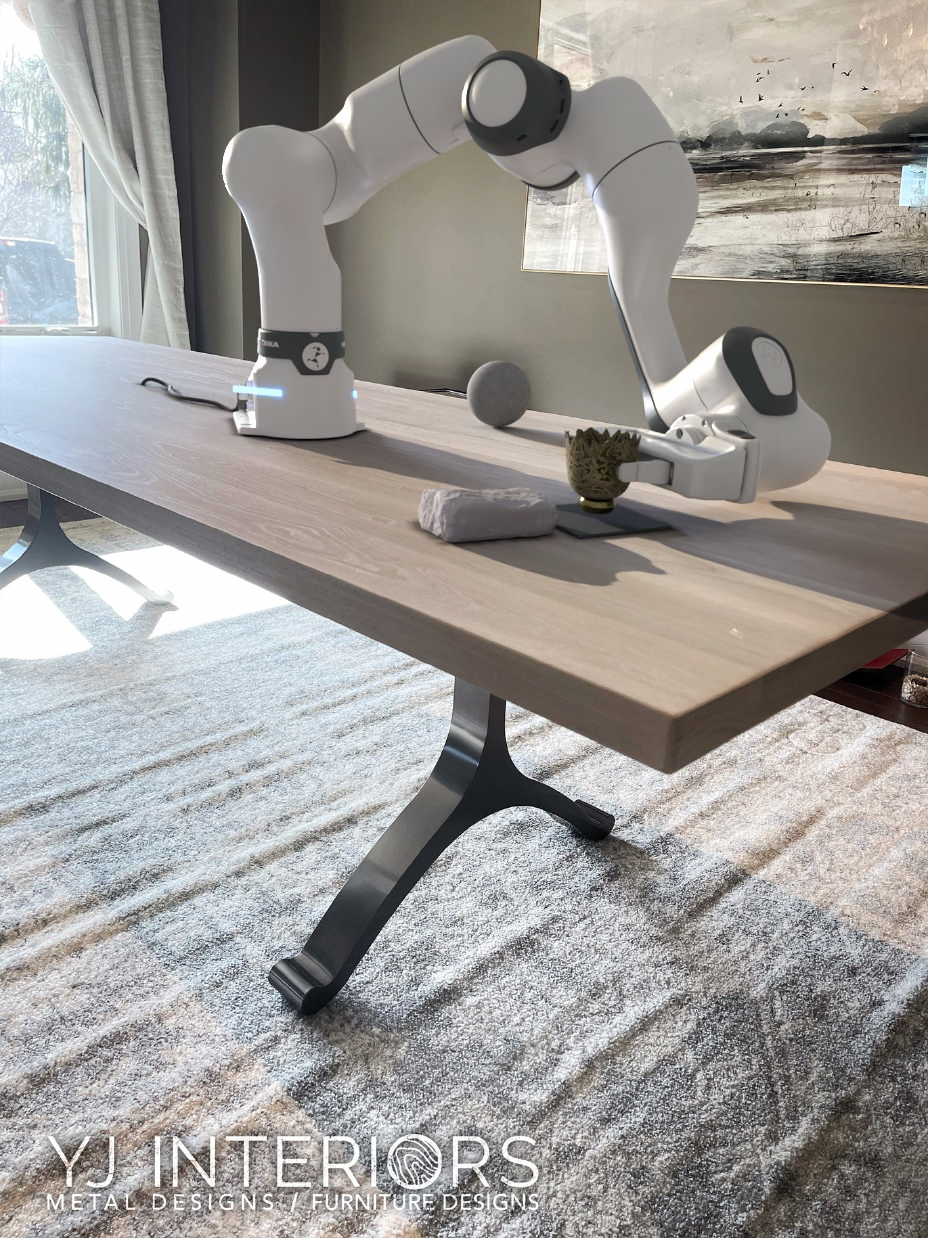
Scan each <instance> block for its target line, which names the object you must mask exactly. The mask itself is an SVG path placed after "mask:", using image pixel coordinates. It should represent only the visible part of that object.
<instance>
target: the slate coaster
mask: <svg viewBox="0 0 928 1238" xmlns="http://www.w3.org/2000/svg"><path fill="white" fill-rule="evenodd" d="M615 504H616V505H615V508H614V510H613V511H612V512H611V513H608V514H603V515H597V514H589V513H586V512H584V511H582V510H581V509H580V506H579V502H578V503H577V502H576V503H565V504H554V505H555V506H556V509H557V512H558V522H557V525H556V527H555V528H556V529H559V530H561V531H562V532H565V533H567V534H570V535H571V536H573V537H576V538H578V539H587V538H597V537H606V536H607V537H608V536H616V535H625V534H634V533H643V532H653V531H661V530H663V531H664V530H672V529H673V525H671V524H668V523H666V522H664V521H661V520H659V519H656V518H653V517H651V516H649V515H645V514H643V513H640V512H638V511H636V510H632V509H630V508H628V507H625V506H623V505H620V504H618V503H615Z"/></svg>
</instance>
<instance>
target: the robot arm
mask: <svg viewBox="0 0 928 1238" xmlns="http://www.w3.org/2000/svg"><path fill="white" fill-rule="evenodd" d="M471 140H473V141H474V143H476V145H477V147H479V148H480V149H481V150H482V151H483V152H485V153H486V154H487V155H488V156H489V158H490V159H492V161H493V162H494V163H496V164H497V165H498V167H500V168H501V169H502V170H503V171H504V172H507V173H509V174H511V175H513V176H514V177H515V178H517V179H519V180H520V181H521V182H522V183H524V185H526V186H528V187H530V188H531V189H535V190H538V191H543V192H558V191H562V190H565V189H566V188H569V187H570V186H572V185H574V184H575V183H576V182H578V180H579V179H580V178H581V180H582V182H583V184H584V186H585V188H586V190H587V192H588V194H589V197H590V199H591V200H592V202H593V205H594V207H595V210H596V211H597V214H598V217H599V220H600V223H601V227H602V230H603V231H602V232H603V235H604V239H605V245H606V250H607V251H606V252H607V263H608V264H607V281H608V287H609V292H610V296H611V299H612V303H613V306H614V308H615V312H616V316H617V318H618V321H619V324H620V327H621V330H622V334H623V336H624V339H625V342H626V345H627V348H628V351H629V354H630V357H631V360H632V362H633V366H634V369H635V372H636V374H637V375H636V376H638V377H637V378H638V381H639V384H640V387H641V393H642V398H643V405H644V413H645V418H646V423H647V426H648V429H647V428H643V427H636V426H634V427H633V426H591V427H592V428H593V429H595V430H597V431H599V433H601V434H603V432H604V431H605V429H606V428H607V429H608V432H609V433H610V437H612V436H613V434H615V433H616V432H617V431H618V430H619V429H620V430H621V433H625V432H626V431H628V432H629V434H630V438H632V435H633V434H634V433H636V434H637V438H638V436H639V435H641V440H640V444H639V449H638V454H637V459H636V462H633V461H618V462H616V463H615V464H614V472H613V477H614V478H615V479H616V480H619V481H622V482H630V483H643V484H649V485H652V486H655V487H658V488H661V489H663V490H667V491H670V492H673V493H676V494H678V495H679V496H681V497H682V498H685V499H689V500H699V501H700V500H701V501H725V502H729V503H732V504H733V503H734V504H739V505H747V504H753V503H754V502H755V500H756V496H757V494H758V493H767V492H773V491H774V492H775V491H780V490H786V489H790V488H793V487H797V486H800V485H803V484H805V483H807V482H809V481H810V480H812V479H813V478H814V477H815V476H817V475H818V474H819V473H820V472H821V470H822V469H823V467H824V466H825V465H826V462H827V460H828V458H829V455H830V452H831V447H832V435H831V431H830V428H829V425H828V423H827V422H826V420H825V419H824V418H823V417H822V416H821V415H820V414H819V413H818V412H816V411H815V410H813V409H812V408H811V407H810V406H809V405H808V404H807V403H806V402H805V401H804V399H803V397H802V396H801V394H800V393H799V391H798V388H797V387H798V386H797V382H796V381H797V380H796V373H795V367H794V363H793V360H792V358H791V356H790V352H789V351H788V349H787V347H786V346H785V345H784V344H783V343H782V342H781V341H780V340H779V339H777V338H776V337H775V336H773V334H771V333H769V332H767V331H765V330H763V329H761V328H757V327H755V326H748V325H738V326H733V327H731V328H730V329H729V330H727V332H724V334H722V335H721V336H720V337H718V338H717V339H716V340H714V341H713V342H712V343H711V344H709V345H708V346H707V347H706V348H704V350H702V351H701V352H700V353H699V354H698V355H697V356H696V357H695V358H693V360H691V361H690V362H689V363H688V362H687V359H686V357H685V356H686V355H685V354H684V350H683V347H682V344H681V341H680V337H679V335H678V332H677V330H676V327H675V324H674V321H673V318H672V314H671V312H670V306H669V292H670V291H669V289H670V284H671V280H672V277H673V273H674V271H675V268H676V266H677V263H678V260H679V257H680V255H681V253H682V251H683V249H684V247H685V245H686V243H687V241H688V240H689V237H690V236H691V233H692V231H693V228H694V226H695V223H696V220H697V216H698V213H699V205H700V192H699V187H698V183H697V178H696V175H695V172H694V169H693V167H692V165H691V163H690V161H689V159H688V157H687V155H686V153H685V151H684V150H683V147H682V145H681V144H680V141H679V139H678V138H677V136H676V134H675V131H674V130H673V129H672V127H671V126H670V124H669V122H668V120H667V119H666V117H665V116H664V114H663V113H662V111H661V110H660V109H659V107H658V106H657V104H656V103H655V102H654V100H653V99H652V98H651V96H650V95H649V94H648V93H647V92H646V90H645V89H644V88H643V86H641V84H640V83H638V82H637V81H636V80H634V79H632V78H630V77H627V76H623V75H621V76H620V75H618V76H611V77H606V78H604V79H601V80H599V81H596V82H595V83H594V84H592V85H591V86H589V87H587V88H586V89H583V90H576V89H573V88H572V86H571V82H570V79H569V77H568V76H567V75H566V74H564V73H563V72H560V71H559V70H557V69H555V68H553V67H551V66H549V65H548V64H546V63H545V62H543V61H541V60H538V59H537V58H535V57H534V56H531V55H528V54H526V53H523V52H520V51H516V50H509V49H507V50H506V49H505V50H499V51H498V50H497V48H496V47H494V45H493V44H492V43H491V42H490V41H489V40H487V39H486V38H484V37H482V36H480V35H476V34H467V35H463V36H460V37H457V38H454V39H451V40H447V41H445V42H443V43H440V44H437V45H434V46H432V47H430V48H427V49H425V50H423V51H422V52H420V53H418V54H415V55H413V56H411V57H410V58H408V59H405V60H404V61H402V62H401V63H399V64H398V65H396V66H394V67H393V68H390V70H388V71H386V72H384V73H383V74H380V75H379V76H377V77H375V78H373V80H370V81H369V82H367V83H365V84H363V85H362V86H361V87H359V88H357V89H355V90H354V91H352V92H351V93H350V94H349V95H348V96H347V98H346V99H345V102H344V106H343V108H342V109H341V110H339V112H338V113H337V114H336V115H335V116H334V117H333V118H332V119H330V121H328V122H327V123H326V124H325V125H323V126H322V127H320V128H317V129H314V130H310V131H300V130H296V129H293V128H289V127H285V126H282V125H278V124H268V125H267V124H266V125H258V126H253V127H249V128H246V129H243V130H241V131H239V132H238V133H237V134H235V135H234V136H233V137H232V139H231V140H230V141H229V143H228V145H227V146H226V149H225V152H224V155H223V160H222V175H223V176H222V177H223V181H224V183H225V187H226V189H227V191H228V193H229V195H230V196H231V198H232V200H233V201H234V202H235V203H236V204H237V206H238V207H239V209H240V210H241V213H242V215H243V217H244V220H245V223H246V226H247V229H248V232H249V236H250V239H251V242H252V243H251V244H252V247H253V251H254V254H255V259H256V264H257V270H258V278H259V279H258V280H259V296H260V298H259V299H260V319H261V322H260V323H261V328H259V329H258V336H257V351H256V352H257V354H258V359H257V361H256V363H255V365H254V367H253V369H252V371H251V373H250V375H249V377H248V379H245V380H244V383H238V384H237V385H232V392H233V393H236V399H237V401H236V405H235V406H234V407H228V406H227V405H224V404H223V403H221V402H218V401H216V400H213V399H207V398H200V397H193V396H187V395H183V394H180V393H177V392H175V391H174V390H173V389H174V387H173V385H172V384H170V383H168V382H166V381H164V380H161V379H159V378H156V377H153V376H148V377H145V378H143V380H142V381H141V382H140V386H145V385H146V384H147V382H153V383H157V384H159V385H161V386H163V387H165V388H167V391H168V393H169V394H170V395H171V396H172V397H174V398H176V399H179V400H182V401H187V402H192V403H193V402H194V403H198V404H206V405H211V406H215V407H217V408H219V409H222V410H224V411H228V412H233V418H232V419H233V421H234V424H235V427H236V430H237V432H238V434H240V435H248V436H249V435H250V436H263V437H264V436H265V437H271V438H281V439H297V440H299V439H303V440H304V439H307V440H309V439H311V440H312V439H314V440H315V439H331V438H339V437H344V436H349V435H351V434H353V433H355V432H358V431H364V430H366V423H365V421H364V420H358V419H357V417H358V416H357V404H356V403H357V401H356V399H357V398H358V391H356V385H355V375H354V372H353V371H352V370H351V369H350V368H349V367H348V366H347V365H346V363H345V361H344V359H343V358H345V356H346V345H347V344H346V343H347V342H346V339H345V332H344V331H343V329H342V273H341V269H340V267H339V265H338V264H337V262H336V260H335V259H334V257H333V254H332V251H331V249H330V245H329V242H328V238H327V233H326V228H325V226H328V225H333V224H336V223H339V222H343V221H345V220H348V219H349V218H351V217H353V216H354V215H355V214H357V212H359V210H360V209H361V207H362V205H364V204H365V203H366V202H367V201H369V200H370V199H371V198H372V197H373V196H375V195H376V194H377V193H378V192H380V191H381V190H382V189H383V188H385V187H386V186H387V185H388V184H390V183H392V182H393V181H395V180H396V179H398V178H400V177H402V176H403V175H406V174H408V173H409V172H411V171H413V170H415V169H417V168H418V167H421V166H422V165H424V164H426V163H428V162H430V161H432V160H434V159H435V158H437V157H439V156H441V155H443V154H444V153H446V152H448V151H450V150H452V149H454V148H456V147H457V146H459V145H461V144H464V143H465V142H468V141H471ZM588 428H589V427H586V428H584V429H582V430H583V431H586V430H587V429H588Z"/></svg>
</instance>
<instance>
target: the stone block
mask: <svg viewBox="0 0 928 1238" xmlns="http://www.w3.org/2000/svg"><path fill="white" fill-rule="evenodd" d="M555 505H556V504H555V503H554V502H552V501H551V500H550V499H549V498H548V497H546V496H544V495H543V494H542V493H541V492H539V491H537V490H535V489H532V488H531V487H529V488H527V487H522V486H521V487H519V486H518V487H498V488H484V489H483V488H482V489H476V490H475V489H461V488H444V487H443V488H434V489H429V488H425V489H424V490H423V491H422V493H421V496H420V502H419V505H418V511H417V512H418V522H419V524H420V527H421V529H422V530H425V531H427V532H429V533H432V534H433V535H435V536H436V537H437V538H440V539H442V540H444V542H447V543H465V542H466V543H467V542H475V541H476V542H477V541H488V540H497V539H512V538H520V537H523V538H529V537H538V536H539V537H540V536H544V535H551V534H552V533H553V531H554V530H555V528H557V527H556V525H557V522H558V512H557V509H556V506H555Z"/></svg>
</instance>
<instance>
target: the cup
mask: <svg viewBox="0 0 928 1238" xmlns="http://www.w3.org/2000/svg"><path fill="white" fill-rule="evenodd" d="M592 427H593V426H588V427H587V428H588V429H587V430H586V431H583V430H584V429H581V428H576V431H575V435H574V436H571V435H570V430H564V437H565V460H566V461H565V462H566V463H565V464H566V474H567V479H568V483H569V486H570V488H571V489H572V490H573V492H574V493H575V494H577V495H579V496H580V498H579V501H578V503H579V506H580V509H581V510H582V511H584V512H586V513H589V514H597V515H603V514H608V513H611V512H612V511H613V510H614V508H615V505H616V504H617V503H616V500H615V499H616V498H619V497H621V496H622V495H623V494H624V493H625V492H626V491H627V490H628V488H629V486H630V485H631V482H622V481H619V480H616V479H615V478H614V477H613V472H614V464H615V463H616V462H618V461H633V462H636V459H637V454H638V449H639V444H640V440H641V435H639V436H638V438H637V434H636V433H634V434H633V435H632V438H630V434H629V432H628V431H626V432H625V433H621V430H620V429H619V430H618V431H617V432H616V433H615V434H613V436H612V437H610V433H609V432H608V429H607V428H606V429H605V431H604V432H603V434H601V433H599V431H597V430H595V429H593V428H592Z"/></svg>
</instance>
